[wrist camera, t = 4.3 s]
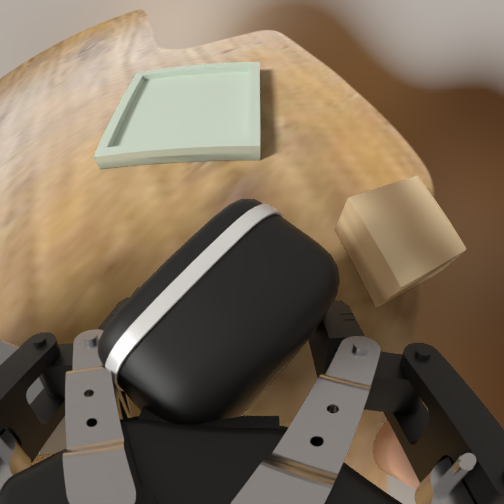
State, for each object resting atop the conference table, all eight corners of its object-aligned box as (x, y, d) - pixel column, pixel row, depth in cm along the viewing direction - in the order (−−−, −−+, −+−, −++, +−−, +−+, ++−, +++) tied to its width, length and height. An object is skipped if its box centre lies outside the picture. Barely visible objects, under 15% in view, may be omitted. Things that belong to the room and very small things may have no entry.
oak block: (375, 308, 18) (400, 287, 14) (333, 231, 20) (347, 197, 17) (437, 273, 19) (466, 249, 15) (397, 208, 21) (417, 175, 18)
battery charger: (228, 425, 15) (177, 482, 5) (180, 381, 16) (65, 356, 6) (308, 336, 17) (379, 247, 7) (259, 297, 18) (259, 166, 8)
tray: (100, 169, 23) (93, 157, 22) (140, 83, 30) (137, 72, 28) (260, 160, 23) (260, 145, 22) (259, 73, 29) (259, 61, 28)
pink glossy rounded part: (371, 481, 13) (406, 504, 8) (373, 416, 15) (412, 422, 10) (431, 465, 13) (476, 477, 8) (433, 404, 15) (481, 402, 10)
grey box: (32, 416, 14) (-15, 413, 10) (44, 354, 16) (-2, 339, 12) (85, 446, 14) (39, 455, 9) (98, 379, 16) (53, 370, 11)
